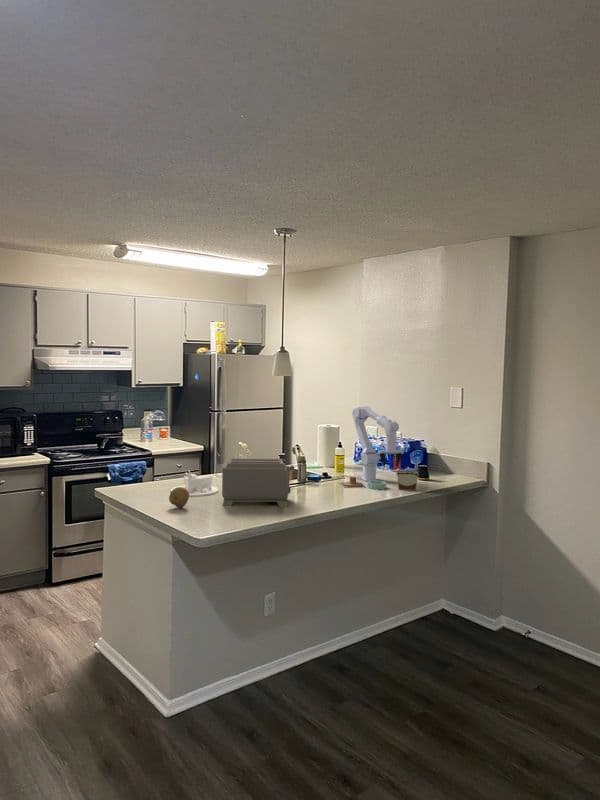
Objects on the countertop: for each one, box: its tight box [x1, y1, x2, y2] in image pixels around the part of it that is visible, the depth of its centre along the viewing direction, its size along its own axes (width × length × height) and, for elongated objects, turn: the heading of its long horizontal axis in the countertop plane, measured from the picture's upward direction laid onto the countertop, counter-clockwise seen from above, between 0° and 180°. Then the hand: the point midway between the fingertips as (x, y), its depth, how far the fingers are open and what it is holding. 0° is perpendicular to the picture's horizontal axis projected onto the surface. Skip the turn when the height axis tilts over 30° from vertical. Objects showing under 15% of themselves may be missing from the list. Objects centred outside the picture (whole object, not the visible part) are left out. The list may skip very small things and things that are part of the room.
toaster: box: [221, 458, 295, 507], centre depth 307 cm, size 19×35×20 cm, turn 94°
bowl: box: [367, 480, 387, 490], centre depth 347 cm, size 10×10×3 cm
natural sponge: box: [168, 486, 190, 509], centre depth 292 cm, size 9×9×10 cm
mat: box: [339, 482, 367, 488], centre depth 352 cm, size 12×12×1 cm
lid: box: [342, 476, 364, 487], centre depth 352 cm, size 11×11×4 cm
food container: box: [396, 469, 420, 491], centre depth 346 cm, size 12×6×10 cm, turn 84°
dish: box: [170, 469, 219, 497], centre depth 329 cm, size 25×25×11 cm
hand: (390, 466), depth 356 cm, fingers open, 7 cm apart
